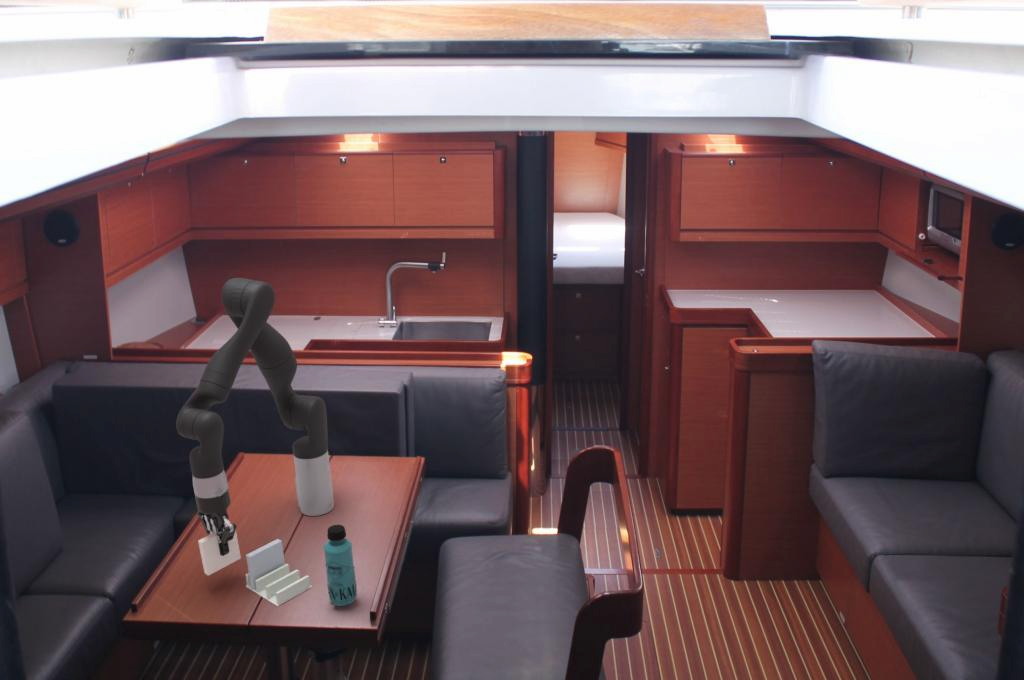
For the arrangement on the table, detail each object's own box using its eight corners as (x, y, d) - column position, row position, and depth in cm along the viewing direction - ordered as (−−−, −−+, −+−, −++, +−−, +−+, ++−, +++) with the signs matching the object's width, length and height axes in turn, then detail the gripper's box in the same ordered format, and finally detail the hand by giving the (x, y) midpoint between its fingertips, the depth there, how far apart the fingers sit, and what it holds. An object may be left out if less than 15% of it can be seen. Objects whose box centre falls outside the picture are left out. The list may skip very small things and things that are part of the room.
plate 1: (204, 573, 228) (198, 540, 225) (237, 555, 235) (231, 523, 231) (208, 575, 227) (201, 542, 224) (240, 558, 234) (235, 526, 230)
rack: (277, 609, 223) (275, 595, 222) (245, 588, 231) (243, 575, 230) (312, 589, 230) (311, 575, 229) (280, 570, 238) (278, 556, 237)
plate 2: (251, 587, 230) (245, 554, 227) (282, 570, 237) (277, 538, 234) (254, 589, 229) (249, 557, 226) (286, 573, 236) (281, 540, 233)
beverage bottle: (331, 596, 227) (322, 521, 220) (359, 594, 227) (351, 519, 221) (328, 613, 221) (319, 536, 214) (357, 610, 221) (349, 534, 215)
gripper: (181, 486, 226) (193, 549, 232) (213, 504, 217) (224, 570, 223) (209, 473, 231) (220, 536, 237) (241, 491, 222) (252, 555, 228)
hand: (222, 552), depth 230 cm, fingers closed on plate 1, 1 cm apart
